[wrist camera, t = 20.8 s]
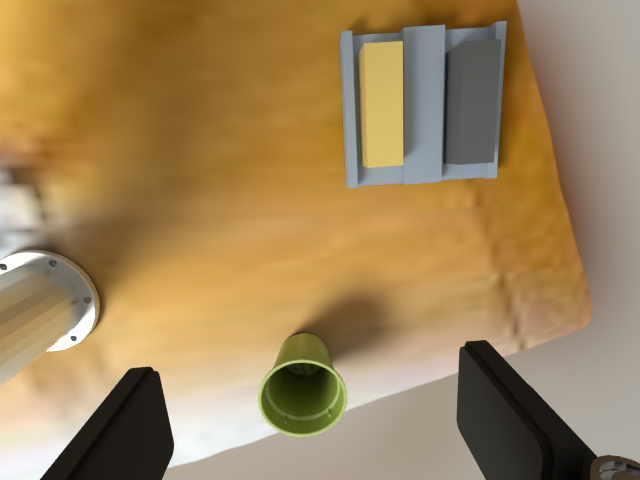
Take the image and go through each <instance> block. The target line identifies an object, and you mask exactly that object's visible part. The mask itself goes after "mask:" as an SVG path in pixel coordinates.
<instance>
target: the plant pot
mask: <svg viewBox="0 0 640 480" xmlns="http://www.w3.org/2000/svg"><path fill="white" fill-rule="evenodd" d="M316 365H318V366H316ZM291 366H294V367H295V368H297V369H300V371H297V370H295V369H293V368H292V367H291ZM346 404H347V392H346V387H345V384H344V382H343V380H342V378H341V377H340V375H339V374H338V373H337V372H336V371H335V370H334V368H333V365H332V362H331V359H330V356H329V353H328V350H327V347H326V345H325V343H324V342H323V341H322V340H321V339H320V338H319V337H317V336H315V335H313V334H310V333H301V334H298V335H293V336H291V337H289V338H288V339H287V340H286V341H285V342H284V343H283V345H282V347H281V350H280V352H279V355H278V358H277V360H276V363H275V365H274V367H273V369H272V370H271V371H270V372H269V373H268V374H267V375H266V376H265V378H264V379H263V381H262V383H261V386H260V389H259V393H258V405H259V409H260V412H261V414H262V416H263V418H264V419H265V420H266V422H267V423H268V424H269V425H270V426H272V427H273V428H274V429H275V430H277V431H279V432H281V433H284V434H287V435H290V436H297V437H306V436H313V435H317V434H320V433H322V432H324V431H326V430H328V429H330V428H331V427H332V426H334V425H335V424H336V423H337V422H338V420H339V419H340V418H341V416H342V415H343V413H344V411H345V408H346Z"/></svg>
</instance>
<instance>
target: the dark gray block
mask: <svg viewBox="0 0 640 480" xmlns="http://www.w3.org/2000/svg"><path fill="white" fill-rule="evenodd" d="M500 52H501V39H492V40H477V41H463V42H462V43H460V44H459V45H457V46H456V47H454V48H453V49H451V50H450V51H449V52H447V53H446V76H445V120H444V163H445V164H455V165H465V164H479V163H493V162H494V153H495V136H496V119H497V102H498V85H499V68H500Z"/></svg>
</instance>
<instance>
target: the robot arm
mask: <svg viewBox="0 0 640 480" xmlns="http://www.w3.org/2000/svg"><path fill="white" fill-rule="evenodd" d="M99 313H100V301H99V296H98V293H97V290H96V288H95V285H94V284H93V282H92V281H91V279H90V277H89V276H88V275H87V274H86V273H85V272H84V271H83V269H82V268H80V267H79V266H78V265H77V264H75V263H74V262H73V261H71V260H69V259H67V258H66V257H64V256H62V255H59V254H56V253H53V252H49V251H44V250H26V251H20V252H17V253H15V254H12V255H9V256H7V257H5V258H3V259H1V260H0V387H1V386H2V385H4V384H5V383H6V382H7V381H9V380H10V379H11V378H13V377H14V376H15V375H16V374H18V373H19V372H20V371H22V370H23V369H24V368H25V367H27V366H28V365H29V364H31V363H32V362H33V361H34V360H36V359H37V358H38V357H40V356H41V355H42V354H43V353H45V352H46V351H57V350H63V349H66V348H69V347H72V346H74V345H76V344H77V343H79V342H81V341H82V340H83V339H84V338H85V337H87V336H88V335H89V334H90V332H91V331H92V330H93V329H94V327H95V325H96V323H97V321H98V317H99ZM457 424H458V428H459V430H460V432H461V435H462V436H463V438H464V440H465V442H466V444H467V446H468V447H469V449H470V451H471V453H472V455H473V457H474V458H475V460H476V462H477V464H478V466H479V468H480V470H481V472H482V473H483V475H484V477H485V479H486V480H640V463H638V462H636V461H633V460H631V459H627V458H624V457H620V456H611V455H605V456H599V457H597V456H596V455H595V454H594V453H593V452H592V450H591V449H590V448H589V447H588V446H587V445H586V444H585V443H584V442H583V441H582V440H581V439H580V438H579V437H578V436H577V435H576V434H575V433H574V431H572V429H571V428H570V427H569V426H568V425H567V424H566V423H565V422H564V421H563V420H562V419H561V418H560V417H559V416H558V415H557V414H556V412H555V411H554V410H553V409H552V408H551V407H550V406H549V405H548V404H547V403H546V402H545V401H544V400H543V399H542V398H541V397H540V396H539V394H538V393H537V392H536V391H535V390H534V389H533V388H532V387H531V386H530V385H528V384H527V383H526V382H525V381H524V380H523V379H522V378H521V376H520V375H519V374H518V373H517V372H516V371H515V370H514V369H513V368H512V367H511V366H510V365H509V364H508V363H507V362H506V361H505V360H504V358H503V357H502V356H501V355H500V354H499V353H498V352H497V351H496V350H495V349H494V348H493V347H492V346H491V345H490V344H489V342H487V341H486V340H480V341H467V342H466V343H465V347H461V348H460V352H459V376H458V398H457ZM173 450H174V441H173V436H172V431H171V427H170V422H169V417H168V413H167V408H166V403H165V399H164V394H163V389H162V384H161V380H160V375H159V373H158V372H157V371H154V370H153V368H152V367H140V368H131V369H129V370H128V371H127V372H126V374H125V375H124V376H123V377H122V379H121V380H120V381H119V382H118V384H117V385H116V386H115V387H114V389H113V390H112V391H111V392H110V394H109V395H108V396H107V397H106V398H105V400H104V401H103V402H102V403H101V405H100V406H99V407H98V408H97V410H96V411H95V412H94V413H93V415H92V416H91V417H90V418H89V419H88V421H87V422H86V423H85V424H84V426H83V427H82V428H81V429H80V431H79V432H78V433H77V434H76V436H75V437H74V438H73V439H72V441H71V442H70V443H69V444H68V445H67V447H66V448H65V449H64V450H63V452H62V453H61V454H60V455H59V457H58V458H57V459H56V460H55V462H54V463H53V464H52V465H51V466H50V468H49V469H48V470H47V471H46V473H45V474H44V475H43V476H42V478H41V479H40V480H162V478H163V475H164V473H165V471H166V469H167V466H168V464H169V462H170V460H171V457H172V455H173Z"/></svg>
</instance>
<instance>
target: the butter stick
mask: <svg viewBox="0 0 640 480" xmlns="http://www.w3.org/2000/svg"><path fill="white" fill-rule="evenodd" d="M358 73H359V102H360V131H361V160H362V166H364V167H367V168H372V167H386V166H400V165H403V41H395V42H379V43H364V45H363V47H362V49H361V50H360V52H359V54H358Z"/></svg>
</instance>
